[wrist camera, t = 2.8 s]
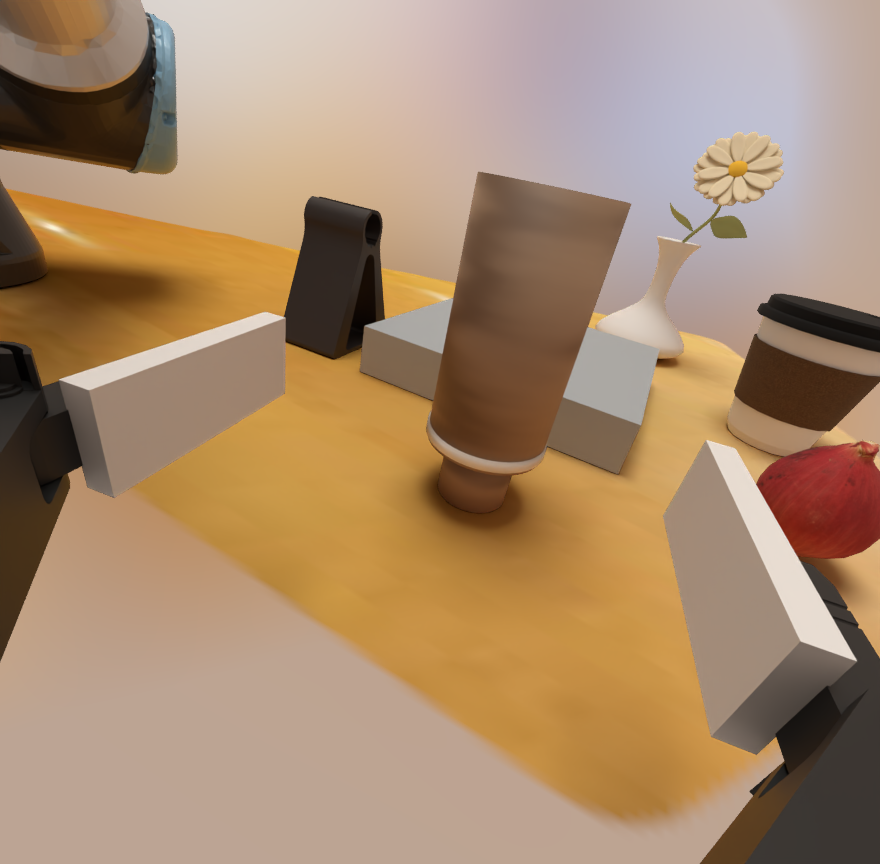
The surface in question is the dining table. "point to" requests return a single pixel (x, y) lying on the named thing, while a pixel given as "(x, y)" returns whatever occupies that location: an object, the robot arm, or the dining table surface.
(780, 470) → the onion
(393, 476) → the dining table surface
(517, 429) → the walnut peg
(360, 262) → the phone stand
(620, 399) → the slate board
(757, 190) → the flower in vase
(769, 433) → the coffee cup
